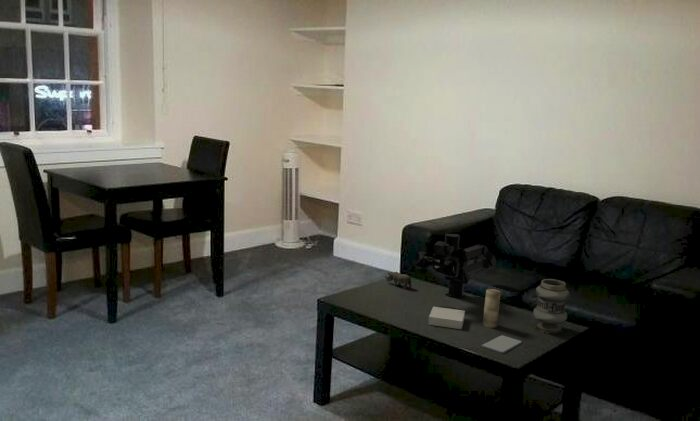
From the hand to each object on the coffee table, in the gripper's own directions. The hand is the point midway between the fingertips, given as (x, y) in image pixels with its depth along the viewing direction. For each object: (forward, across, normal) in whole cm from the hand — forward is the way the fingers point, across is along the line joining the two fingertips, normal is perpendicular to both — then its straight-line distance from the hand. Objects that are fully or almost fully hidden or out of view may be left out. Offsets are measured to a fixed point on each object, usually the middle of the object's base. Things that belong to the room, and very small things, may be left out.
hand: (425, 267), depth 257 cm
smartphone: (+10, +39, +17) cm, 44 cm away
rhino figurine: (-17, -24, +17) cm, 34 cm away
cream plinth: (+5, +14, +17) cm, 22 cm away
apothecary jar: (-17, +44, +17) cm, 50 cm away
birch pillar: (-4, +27, +17) cm, 32 cm away
